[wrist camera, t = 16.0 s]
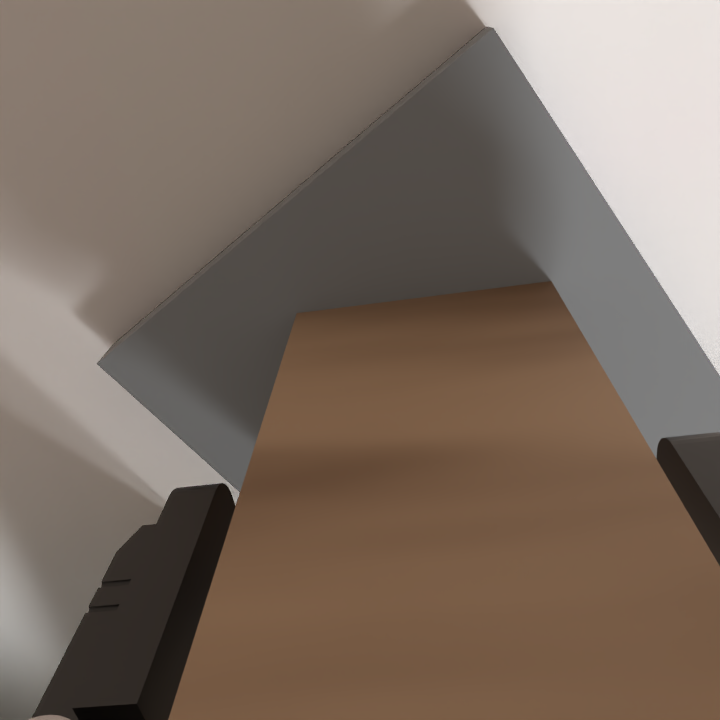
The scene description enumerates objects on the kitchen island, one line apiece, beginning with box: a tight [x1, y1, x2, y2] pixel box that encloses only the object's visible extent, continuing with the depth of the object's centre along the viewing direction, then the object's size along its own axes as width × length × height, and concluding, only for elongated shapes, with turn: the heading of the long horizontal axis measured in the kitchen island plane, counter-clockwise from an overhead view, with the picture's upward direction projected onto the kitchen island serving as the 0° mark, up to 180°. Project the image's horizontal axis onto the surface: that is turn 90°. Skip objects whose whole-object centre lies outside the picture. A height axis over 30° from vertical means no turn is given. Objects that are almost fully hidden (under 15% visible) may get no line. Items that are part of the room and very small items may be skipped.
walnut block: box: [168, 281, 720, 720], centre depth 9 cm, size 4×4×9 cm
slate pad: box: [97, 27, 720, 492], centre depth 13 cm, size 9×9×1 cm
